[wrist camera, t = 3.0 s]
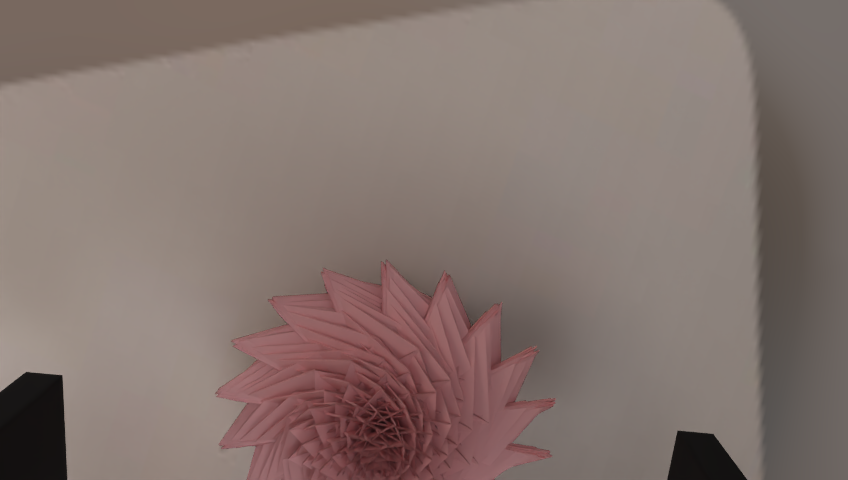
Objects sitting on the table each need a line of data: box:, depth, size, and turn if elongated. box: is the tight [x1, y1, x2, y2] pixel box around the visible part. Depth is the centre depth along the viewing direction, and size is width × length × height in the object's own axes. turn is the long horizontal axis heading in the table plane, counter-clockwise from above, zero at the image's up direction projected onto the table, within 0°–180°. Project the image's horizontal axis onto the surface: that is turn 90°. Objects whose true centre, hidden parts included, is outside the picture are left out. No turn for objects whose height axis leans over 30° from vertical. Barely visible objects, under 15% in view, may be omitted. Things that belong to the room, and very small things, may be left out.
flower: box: [215, 259, 556, 480], centre depth 17 cm, size 8×8×6 cm
